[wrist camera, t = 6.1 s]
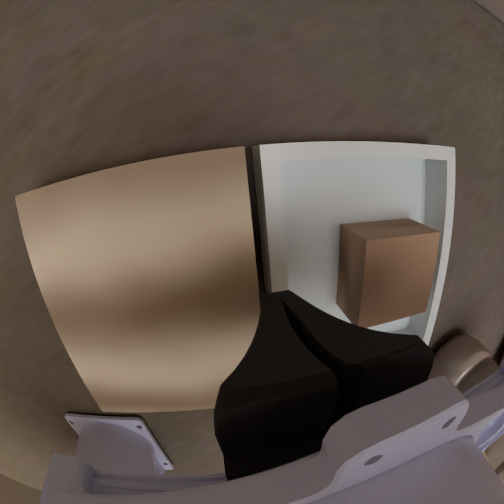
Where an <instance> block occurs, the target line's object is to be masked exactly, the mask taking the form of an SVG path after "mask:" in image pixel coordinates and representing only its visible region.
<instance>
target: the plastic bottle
mask: <svg viewBox="0 0 504 504" xmlns="http://www.w3.org/2000/svg"><path fill="white" fill-rule="evenodd" d="M498 369H499V365H498V364H497V363H496V362H495V361H494V360H493V359H492V358H491V355H490V354H489V352H488V351H487V349H486V348H485V347H484V346H483V344H482V343H481V342H480V341H478V340H477V339H475V338H473V337H471V336H469V335H457V336H455V337H453V338H451V339H450V340H448V341H447V342H446V343H445V344H444V345H443V346H442V347H441V348H440V349H439V350H438V351H437V352H436V353H435V355H434V362H433V366H432V369H431V372H430V374H429V377H428V380H429V379H432V378H436V377H440V376H446V377H447V378H448V379H449V380H450V381H451V382H452V383H453V384H454V385H455V386H456V387H457V389H458V390H459V391H460V392H461V393H462V394H463V393H464V392H466V391H468V390H469V389H471V388H472V387H474V386H475V385H477V384H478V383H480V382H481V381H483V380H484V379H486V378H487V377H488V376H490V375H491V374H493V373H494V372H495V371H497V370H498ZM485 453H486V455H487V457H488V459H489V462H490V464H491V466H492V467H493V469H494V470H495V472H496V473H497V475H498V476H499V477H500V479H501V480H502V482H504V433H503V434H502V435H501V436H500V437H499V438H498V439H497V440H496V441H495V442H494V443H492V444H491V445H490V446H489V447H488V448H487V449H486V450H485Z"/></svg>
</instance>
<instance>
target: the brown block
mask: <svg viewBox="0 0 504 504" xmlns="http://www.w3.org/2000/svg"><path fill="white" fill-rule="evenodd" d="M439 238H440V232H439V231H437V230H435V229H433V228H430V227H428V226H426V225H424V224H421V223H419V222H417V221H414V220H412V219H410V218H407V219H395V220H383V221H371V222H360V223H348V224H340V239H339V265H338V283H337V298H336V304H337V305H338V307H339V308H340V309H341V310H342V312H343V313H344V314H345V315H346V317H347V318H348V319H349V321H350V322H351V323H352V324H354V325H357V326H361V327H364V328H368V327H372V326H376V325H380V324H384V323H388V322H391V321H395V320H398V319H402V318H405V317H409V316H412V315H416V314H419V313H422V312H425V311H426V309H427V305H428V300H429V296H430V291H431V286H432V282H433V276H434V271H435V265H436V259H437V253H438V246H439Z"/></svg>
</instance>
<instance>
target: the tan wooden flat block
mask: <svg viewBox="0 0 504 504" xmlns="http://www.w3.org/2000/svg"><path fill="white" fill-rule="evenodd" d="M15 200H16V205H17V210H18V215H19V220H20V224H21V228H22V232H23V236H24V240H25V244H26V247H27V251H28V254H29V258H30V261H31V264H32V267H33V270H34V273H35V276H36V279H37V282H38V285H39V288H40V291H41V293H42V296H43V298H44V301H45V304H46V306H47V309H48V311H49V313H50V316H51V318H52V320H53V323H54V325H55V327H56V329H57V332H58V334H59V336H60V338H61V340H62V342H63V344H64V346H65V348H66V350H67V352H68V354H69V356H70V358H71V360H72V362H73V364H74V366H75V367H76V369H77V371H78V373H79V375H80V376H81V378H82V380H83V381H84V383H85V385H86V387H87V388H88V390H89V392H90V393H91V395H92V396H93V398H94V400H95V401H96V403H97V404H98V406H99V407H100V409H101V410H102V412H171V411H188V410H200V409H210V408H215V403H216V399H217V395H218V392H219V388H220V385H221V384H222V383H223V382H224V381H225V379H226V378H227V377H228V376H229V375H230V374H231V373H232V372H233V371H234V370H235V368H236V367H237V366H238V364H239V363H240V361H241V360H242V359H243V357H244V356H245V354H246V352H247V350H248V348H249V346H250V344H251V342H252V340H253V338H254V335H255V332H256V329H257V325H258V322H259V317H260V301H259V287H258V277H257V267H256V257H255V247H254V237H253V227H252V217H251V207H250V197H249V187H248V177H247V167H246V158H245V148H244V146H241V147H231V148H223V149H215V150H207V151H200V152H193V153H186V154H180V155H174V156H168V157H162V158H157V159H152V160H146V161H141V162H136V163H132V164H127V165H122V166H118V167H114V168H109V169H105V170H101V171H97V172H93V173H89V174H85V175H82V176H78V177H74V178H71V179H67V180H64V181H61V182H57V183H54V184H51V185H48V186H44V187H41V188H38V189H35V190H32V191H29V192H26V193H23V194H21V195H18V196H15Z"/></svg>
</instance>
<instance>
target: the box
mask: <svg viewBox="0 0 504 504" xmlns="http://www.w3.org/2000/svg"><path fill="white" fill-rule="evenodd" d="M251 147H252V157H253V167H254V177H255V188H256V198H257V209H258V219H259V230H260V241H261V252H262V263H263V274H264V285H265V294H266V293H273V292H279V291H285V290H290V291H292V292H293V293H295V294H296V295H298V296H299V297H301V298H302V299H304V300H305V301H307V302H309V303H310V304H312V305H313V306H315V307H317V308H319V309H320V310H322V311H324V312H326V313H328V314H330V315H332V316H334V317H336V318H338V319H341V320H343V321H346V322H349V323H351V322H350V321H349V319H348V318H347V317H346V315H345V314H344V313H343V312H342V310H341V309H340V308H339V307H338V305H337V304H336V298H337V283H338V265H339V239H340V224H348V223H360V222H371V221H383V220H395V219H407V218H410V219H412V220H414V221H417V222H419V223H421V224H424V225H426V226H428V227H430V228H433V229H435V230H437V231H439V232H440V238H439V246H438V253H437V259H436V265H435V271H434V276H433V282H432V286H431V291H430V296H429V300H428V305H427V309H426V311H425V312H422V313H419V314H416V315H412V316H409V317H405V318H402V319H398V320H395V321H391V322H388V323H384V324H380V325H376V326H372V327H368V329H372V330H377V331H382V332H388V333H395V334H410V335H418V336H419V337H420V338H421V339H422V340H423V341H424V342H425V343H426V344H427V345H429V341H430V338H431V335H432V331H433V328H434V324H435V320H436V316H437V312H438V308H439V304H440V300H441V295H442V290H443V285H444V280H445V275H446V269H447V263H448V257H449V250H450V243H451V234H452V225H453V213H454V198H455V148H454V147H446V146H436V145H425V144H413V143H396V142H370V141H323V142H296V143H279V144H265V145H256V146H251ZM351 324H352V323H351Z"/></svg>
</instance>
